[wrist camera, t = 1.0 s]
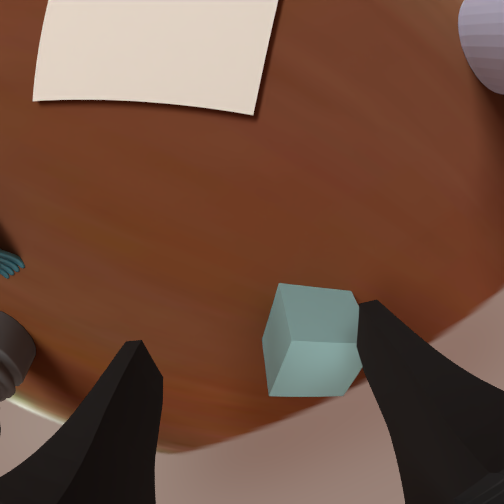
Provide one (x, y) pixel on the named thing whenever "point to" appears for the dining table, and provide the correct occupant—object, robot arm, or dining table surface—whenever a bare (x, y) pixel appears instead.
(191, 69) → the mat
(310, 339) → the teal cube
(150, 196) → the dining table surface
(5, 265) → the flying bird
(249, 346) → the dining table surface
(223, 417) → the dining table surface
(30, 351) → the candle holder
